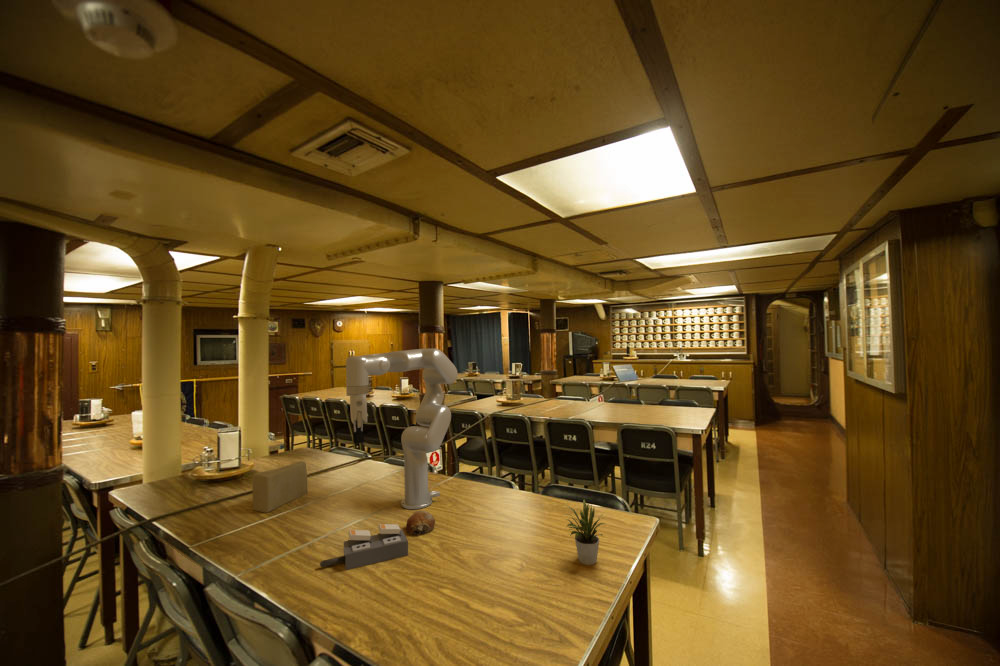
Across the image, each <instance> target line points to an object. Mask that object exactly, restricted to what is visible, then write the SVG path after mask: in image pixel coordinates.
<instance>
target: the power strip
mask: <svg viewBox="0 0 1000 666" xmlns="http://www.w3.org/2000/svg"><path fill="white" fill-rule="evenodd" d="M407 556H409V540H408V539H407V536H406V534H405V533H404V530H403V529H402V528H400V534H380V532H379V533H377V534H374V535H371V537H370V540H350V539H347V540H345V541H343V556H339V557H334V558H328V559H325V560H322V561H320V562H319V566H320V567H321V568H323V567H328V566H332V565H338V564H340V563H344V568H345V571H348V570H352V569H356V568H360V567H365V566H369V565H374V564H378V563H382V562H386V561H389V560H390V561H391V560H393V559H398V558H403V557H407Z"/></svg>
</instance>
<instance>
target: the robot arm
mask: <svg viewBox="0 0 1000 666" xmlns="http://www.w3.org/2000/svg"><path fill="white" fill-rule="evenodd" d="M345 361H346V362H345V367H346V368H345V370H346V371H345V373H346V374H345V376H346V377H345V378H346V379H345V381H346V383H345V384H346V387H345V388H346V393H345V394H346V395H345V396H346V397H347V396H348V397H349V407H350V410H349V411H350V421H351V423H352V425H353V431H352V439H353V440H352V442H353V444H363V443H364V430H363V428H364V424H363V423H365V424H367V423H368V405H367V404H368V403H367V402H368V401H367V396H368V395H369V394H370V393H369V391H370V388H369V385H370V383H369V377H370V376H382V375H384V374H387V373H403V372H409V371H415V370H423V371H422V379H423V382H424V386H425V394H424V395H423V398H422V401H421V403H420V404H419V407H418V408H417V411H416V412H415V413H416V414H415V416H414V419H415V422H416V424H418V425H420V426H417V425H414V426H413V425H412V426H407V428H405V429H404V430H403V431H402V433H401V442H400V443H401V447H402V450H403V459H404V460H403V461H404V463H403V465H404V466H403V467H404V468H403V469H404V470H403V471H404V476H403V477H404V499H402V500H401V501H400V506H401V507H402V508H404V509H406V510H419V509H423V508H427V507H429V506H430V505H432V503H433V498H436V497H441V494H440V491H439V490H438V491H436V490H432V491H430V490H429V467H428V465H429V464H428V462H429V461H428V456H427V453H434V452H437V450H439V449H440V448H441V446H442V443H443V441H444V438H445V436H446V434H447V432H448V429H449V427H450V423H451V421H452V412H451V409H450V408H449V407H448V406H447V405H445V404H443V401H444V398H445V397H444V396H445V395H444V390H443V388H442V386H441V385H451V384H454V383H455V382H456V381H457V379H458V369H457V368H456V366H455V363H453V362H452V361H451V360H450V359H449V357H448V355H447V356H446V354H445V353H444V352H443V351H442V350H440V349H438V348H436V347H435V348H418V349H416V348H414V349H408V350H407V349H406V350H398V351H389V352H382V353H372V354H363V355H359V356H358V355H356V356H353V355H352V356H348V357H347V358H346V360H345Z"/></svg>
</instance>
